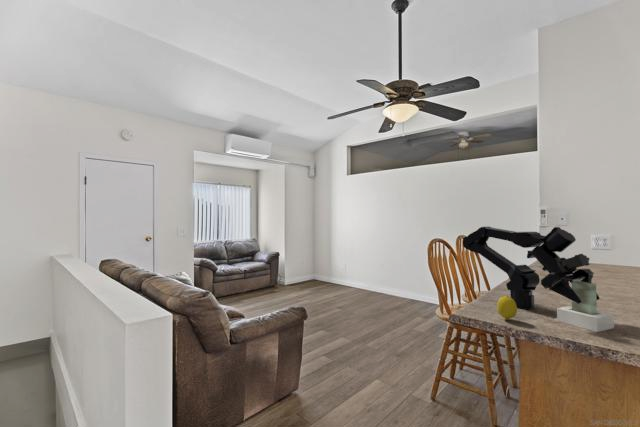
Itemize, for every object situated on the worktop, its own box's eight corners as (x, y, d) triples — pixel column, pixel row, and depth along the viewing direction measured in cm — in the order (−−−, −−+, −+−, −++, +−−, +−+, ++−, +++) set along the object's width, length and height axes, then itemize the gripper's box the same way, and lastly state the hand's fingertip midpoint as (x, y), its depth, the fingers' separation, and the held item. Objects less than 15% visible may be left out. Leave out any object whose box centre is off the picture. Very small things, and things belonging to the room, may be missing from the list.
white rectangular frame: (557, 320, 97) (556, 308, 97) (573, 317, 100) (573, 305, 100) (597, 332, 87) (596, 318, 87) (613, 327, 90) (613, 314, 90)
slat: (572, 322, 96) (571, 281, 96) (578, 320, 97) (577, 280, 97) (591, 327, 91) (590, 284, 91) (597, 326, 92) (596, 283, 92)
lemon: (493, 317, 101) (493, 293, 101) (510, 317, 101) (510, 293, 101) (503, 322, 95) (503, 297, 96) (521, 322, 95) (520, 297, 95)
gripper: (550, 246, 94) (593, 289, 84) (586, 244, 101) (630, 283, 91) (525, 267, 102) (562, 309, 91) (560, 264, 108) (598, 303, 98)
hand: (589, 301), depth 93 cm, fingers open, 9 cm apart
